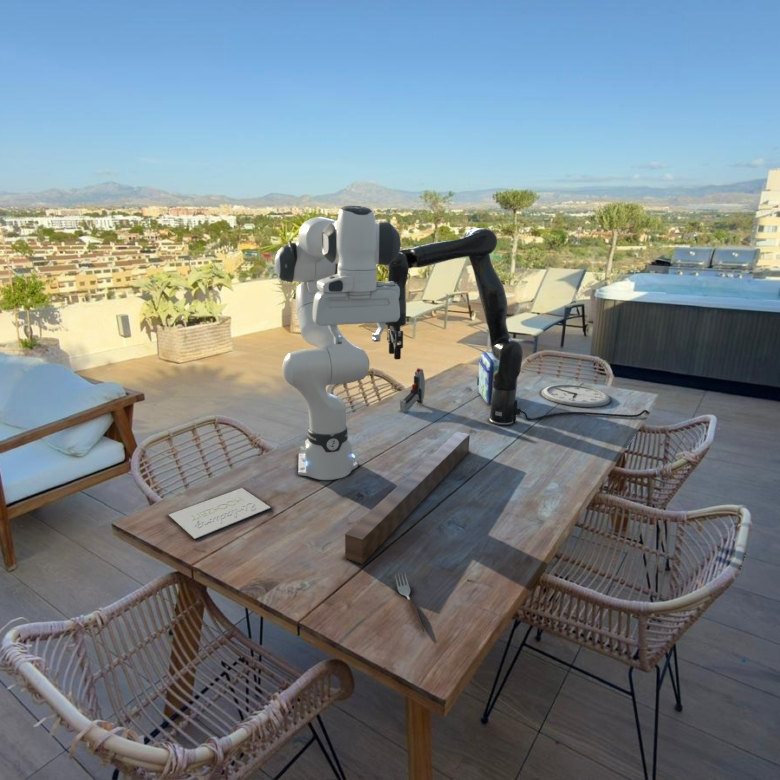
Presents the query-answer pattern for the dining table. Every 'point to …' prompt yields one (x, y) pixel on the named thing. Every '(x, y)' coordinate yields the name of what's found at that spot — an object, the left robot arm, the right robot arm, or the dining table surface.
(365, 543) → the post
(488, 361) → the lunch box
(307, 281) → the left robot arm
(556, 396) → the wall clock
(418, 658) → the dining table surface
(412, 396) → the toy gun
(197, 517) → the invitation card
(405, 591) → the fork
